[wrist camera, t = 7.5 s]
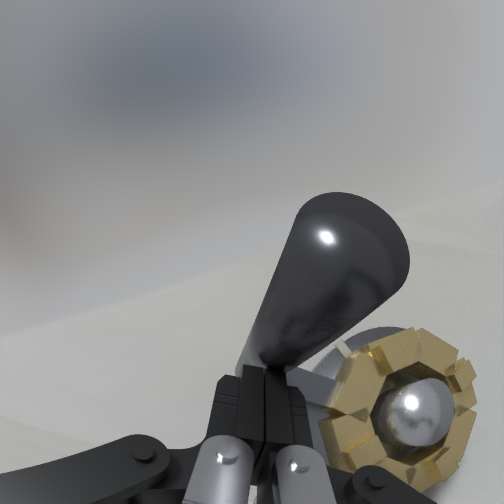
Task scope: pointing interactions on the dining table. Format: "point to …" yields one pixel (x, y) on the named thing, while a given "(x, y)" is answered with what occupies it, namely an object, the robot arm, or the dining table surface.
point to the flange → (392, 403)
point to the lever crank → (343, 319)
